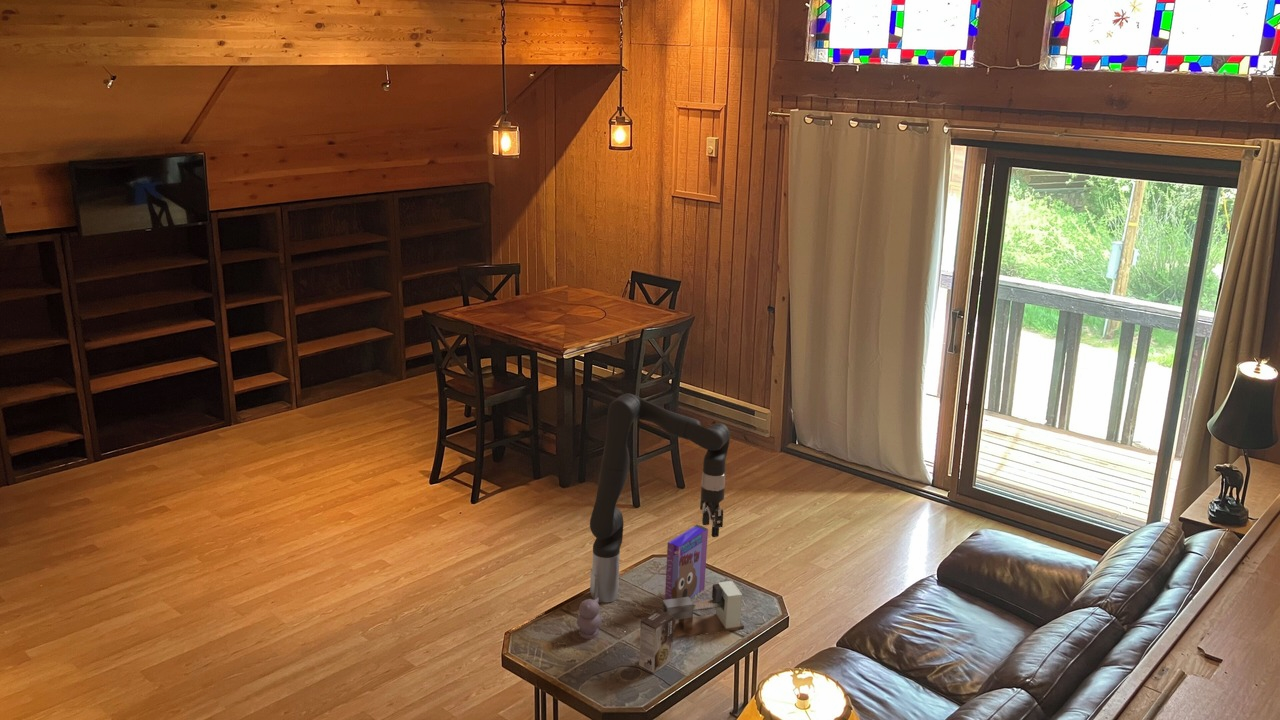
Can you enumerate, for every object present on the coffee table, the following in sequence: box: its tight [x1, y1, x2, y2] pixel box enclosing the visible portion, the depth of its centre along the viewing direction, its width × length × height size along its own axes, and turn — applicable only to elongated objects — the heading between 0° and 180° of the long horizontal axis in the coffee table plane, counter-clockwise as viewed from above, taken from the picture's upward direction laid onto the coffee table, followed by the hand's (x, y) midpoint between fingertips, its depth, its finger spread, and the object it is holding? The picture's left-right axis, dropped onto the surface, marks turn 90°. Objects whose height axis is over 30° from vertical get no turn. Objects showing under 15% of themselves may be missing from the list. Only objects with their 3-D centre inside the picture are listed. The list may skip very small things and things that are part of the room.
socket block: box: [715, 580, 743, 628], centre depth 332 cm, size 5×9×12 cm, turn 17°
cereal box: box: [664, 524, 709, 600], centre depth 345 cm, size 17×5×24 cm, turn 143°
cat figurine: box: [576, 598, 603, 640], centre depth 323 cm, size 8×8×12 cm
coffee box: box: [638, 608, 674, 674], centre depth 308 cm, size 9×6×16 cm
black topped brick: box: [692, 583, 725, 612], centre depth 329 cm, size 16×3×8 cm, turn 107°
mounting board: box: [661, 597, 745, 639], centre depth 330 cm, size 27×9×10 cm, turn 107°
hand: (710, 530), depth 324 cm, fingers open, 8 cm apart
